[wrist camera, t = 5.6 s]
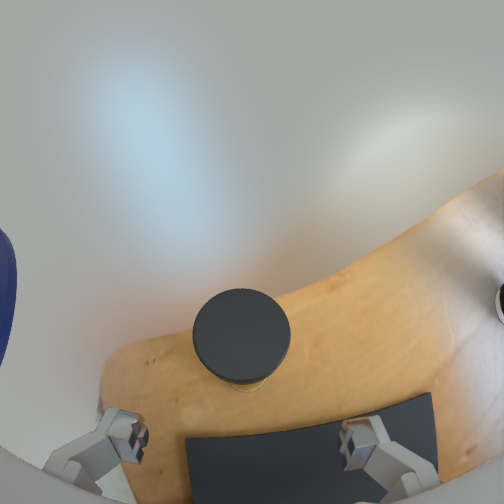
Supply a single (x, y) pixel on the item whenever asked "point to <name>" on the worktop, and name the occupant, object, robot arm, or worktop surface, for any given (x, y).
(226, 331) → the marker
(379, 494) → the board
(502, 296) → the dixie cup
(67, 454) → the robot arm
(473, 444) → the worktop surface
